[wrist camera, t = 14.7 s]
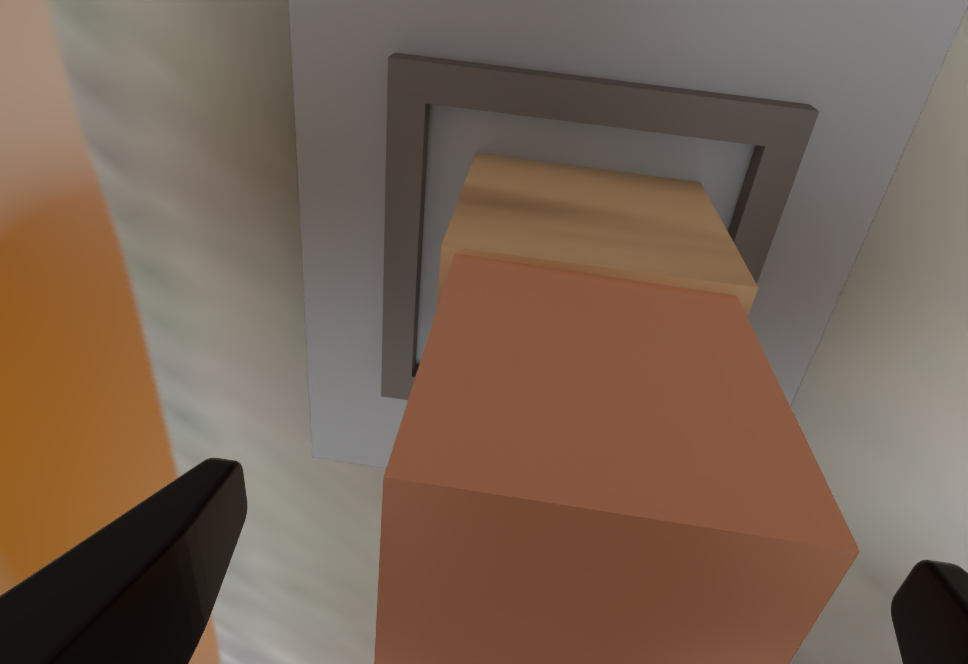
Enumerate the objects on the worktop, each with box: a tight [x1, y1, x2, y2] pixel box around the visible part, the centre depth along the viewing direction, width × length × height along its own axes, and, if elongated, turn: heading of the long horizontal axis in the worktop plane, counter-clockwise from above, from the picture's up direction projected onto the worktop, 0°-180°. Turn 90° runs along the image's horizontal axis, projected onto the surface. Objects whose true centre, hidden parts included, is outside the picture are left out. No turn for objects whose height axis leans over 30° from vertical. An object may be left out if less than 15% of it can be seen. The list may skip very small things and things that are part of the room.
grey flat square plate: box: [289, 0, 968, 468], centre depth 16 cm, size 15×13×1 cm
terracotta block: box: [374, 254, 860, 664], centre depth 9 cm, size 4×4×5 cm
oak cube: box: [437, 153, 758, 318], centre depth 14 cm, size 5×5×5 cm
